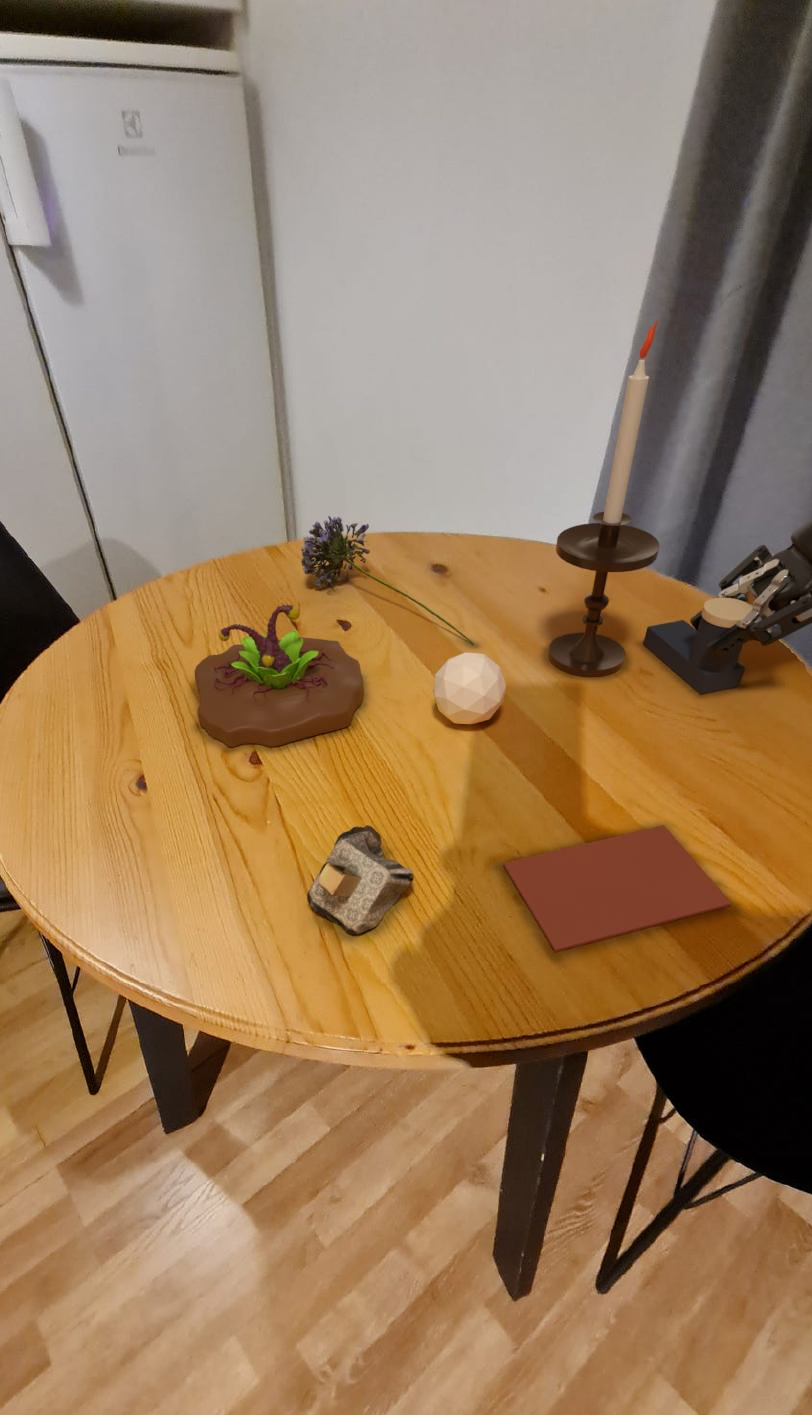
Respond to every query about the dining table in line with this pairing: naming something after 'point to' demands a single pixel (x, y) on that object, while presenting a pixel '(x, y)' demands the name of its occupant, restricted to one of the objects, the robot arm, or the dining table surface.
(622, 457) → the candlestick
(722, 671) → the bootie
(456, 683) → the geometric ball
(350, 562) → the flower
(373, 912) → the grey patterned crumpled piece
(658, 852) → the mat
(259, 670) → the plant
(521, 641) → the dining table surface
